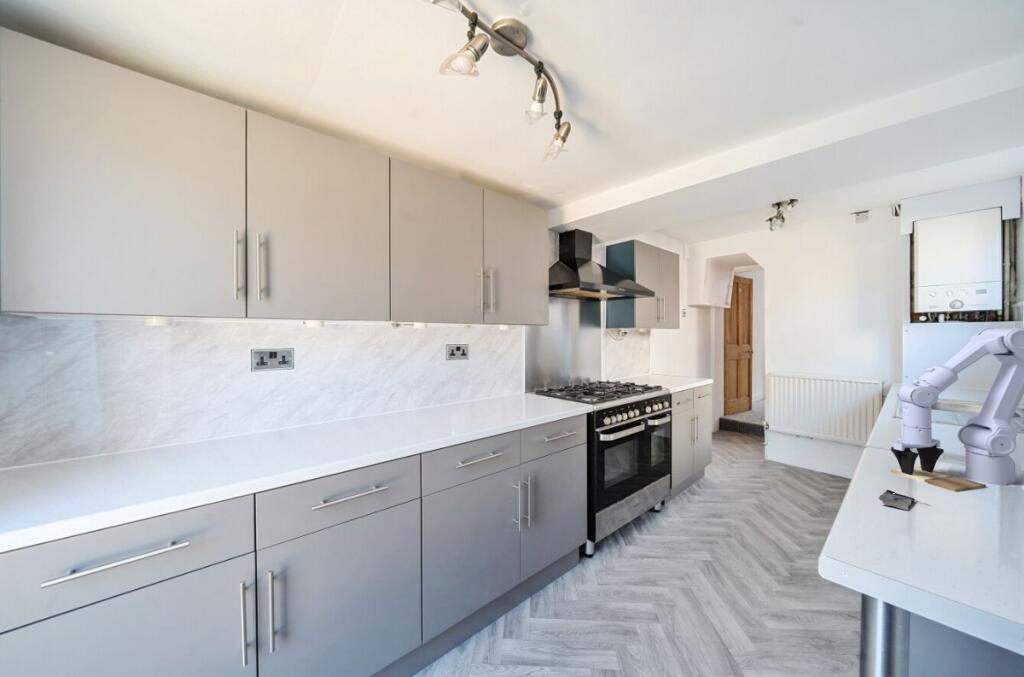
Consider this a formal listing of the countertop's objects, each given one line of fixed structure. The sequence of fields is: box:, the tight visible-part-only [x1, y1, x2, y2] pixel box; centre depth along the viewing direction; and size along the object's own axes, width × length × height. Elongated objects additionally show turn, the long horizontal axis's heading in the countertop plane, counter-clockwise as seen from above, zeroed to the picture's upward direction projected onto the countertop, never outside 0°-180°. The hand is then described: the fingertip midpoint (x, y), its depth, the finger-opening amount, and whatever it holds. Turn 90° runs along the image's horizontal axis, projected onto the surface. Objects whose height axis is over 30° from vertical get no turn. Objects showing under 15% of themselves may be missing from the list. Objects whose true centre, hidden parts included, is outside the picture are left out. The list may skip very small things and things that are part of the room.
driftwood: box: [878, 489, 916, 511], centre depth 98 cm, size 21×7×2 cm, turn 120°
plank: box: [890, 465, 954, 483], centre depth 108 cm, size 11×8×2 cm
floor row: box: [927, 476, 987, 493], centre depth 106 cm, size 11×16×2 cm
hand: (917, 472), depth 108 cm, fingers open, 7 cm apart
